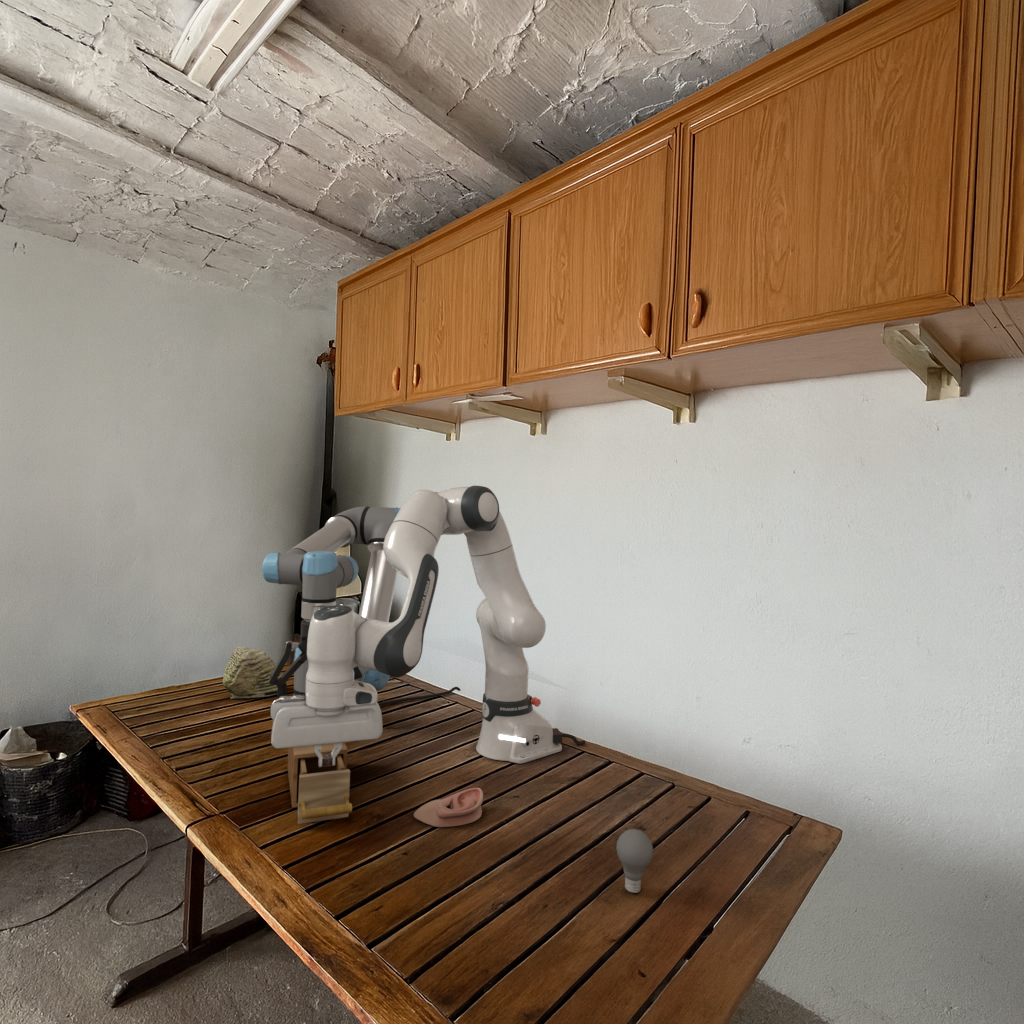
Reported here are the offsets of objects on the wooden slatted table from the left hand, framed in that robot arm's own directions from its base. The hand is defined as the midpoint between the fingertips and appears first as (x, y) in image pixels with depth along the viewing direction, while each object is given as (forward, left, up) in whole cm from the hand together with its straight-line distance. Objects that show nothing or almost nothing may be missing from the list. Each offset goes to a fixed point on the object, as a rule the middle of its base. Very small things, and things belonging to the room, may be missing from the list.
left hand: (315, 711), depth 146 cm
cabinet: (+3, +6, -14) cm, 15 cm away
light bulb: (-10, +77, -14) cm, 79 cm away
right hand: (+14, +24, -1) cm, 28 cm away
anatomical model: (-7, +37, -14) cm, 40 cm away
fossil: (-19, -60, -14) cm, 64 cm away
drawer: (+9, +16, -13) cm, 23 cm away
